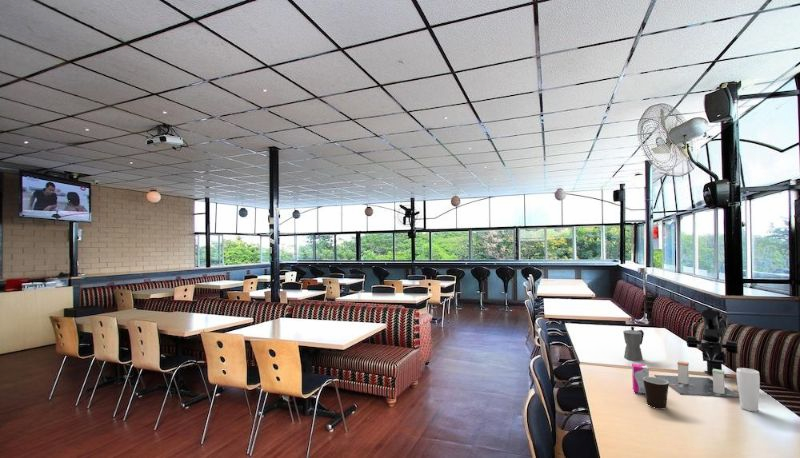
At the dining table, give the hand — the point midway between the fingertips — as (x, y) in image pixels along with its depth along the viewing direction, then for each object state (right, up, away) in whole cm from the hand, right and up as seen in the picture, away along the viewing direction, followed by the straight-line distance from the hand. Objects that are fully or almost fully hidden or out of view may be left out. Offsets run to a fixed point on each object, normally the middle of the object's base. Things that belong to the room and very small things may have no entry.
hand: (711, 360), depth 178 cm
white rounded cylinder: (-7, -10, -27) cm, 30 cm away
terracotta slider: (-13, -11, 0) cm, 17 cm away
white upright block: (-6, -11, -11) cm, 17 cm away
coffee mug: (-40, -10, -23) cm, 47 cm away
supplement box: (-38, -11, -9) cm, 41 cm away
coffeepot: (-11, -13, +41) cm, 44 cm away
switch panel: (-9, -11, -2) cm, 14 cm away
